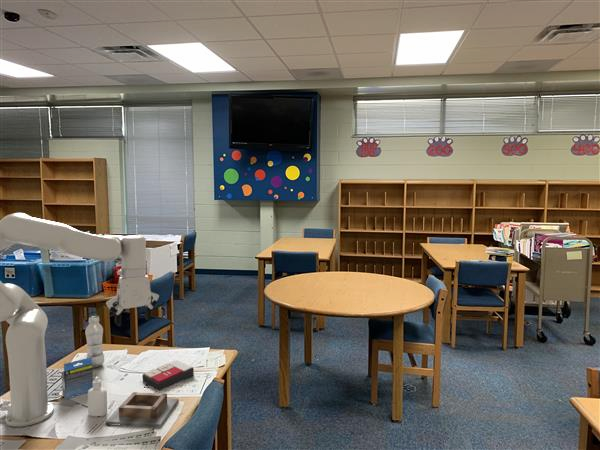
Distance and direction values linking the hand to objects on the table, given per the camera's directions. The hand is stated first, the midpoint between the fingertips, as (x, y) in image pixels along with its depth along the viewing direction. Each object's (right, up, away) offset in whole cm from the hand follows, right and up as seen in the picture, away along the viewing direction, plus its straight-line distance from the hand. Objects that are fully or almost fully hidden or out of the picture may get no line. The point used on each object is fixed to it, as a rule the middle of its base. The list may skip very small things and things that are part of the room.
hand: (133, 322), depth 138 cm
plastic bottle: (-25, -24, +25) cm, 43 cm away
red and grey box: (+7, -25, +15) cm, 30 cm away
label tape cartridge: (-21, -26, +4) cm, 33 cm away
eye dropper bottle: (-8, -27, -9) cm, 29 cm away
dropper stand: (+7, -27, -8) cm, 29 cm away
